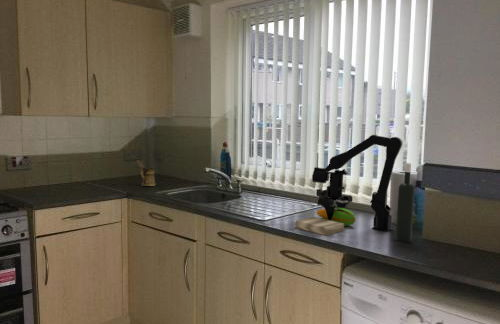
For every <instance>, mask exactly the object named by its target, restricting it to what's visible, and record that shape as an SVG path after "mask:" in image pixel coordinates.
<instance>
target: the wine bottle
mask: <svg viewBox="0 0 500 324" xmlns="http://www.w3.org/2000/svg"><path fill="white" fill-rule="evenodd" d="M411 171H412V163H411V162H405V163H404V182H403V183H401V184H399V186H398V191H397V192H398V195H397V208H396V209H397V210H396V212H397V213H396V225H395V240H396V241H398V242H403V243H410V242H412V233H413V219H414V208H415V207H414V205H415V186H414V185H415V184H412V183H411Z"/></svg>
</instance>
